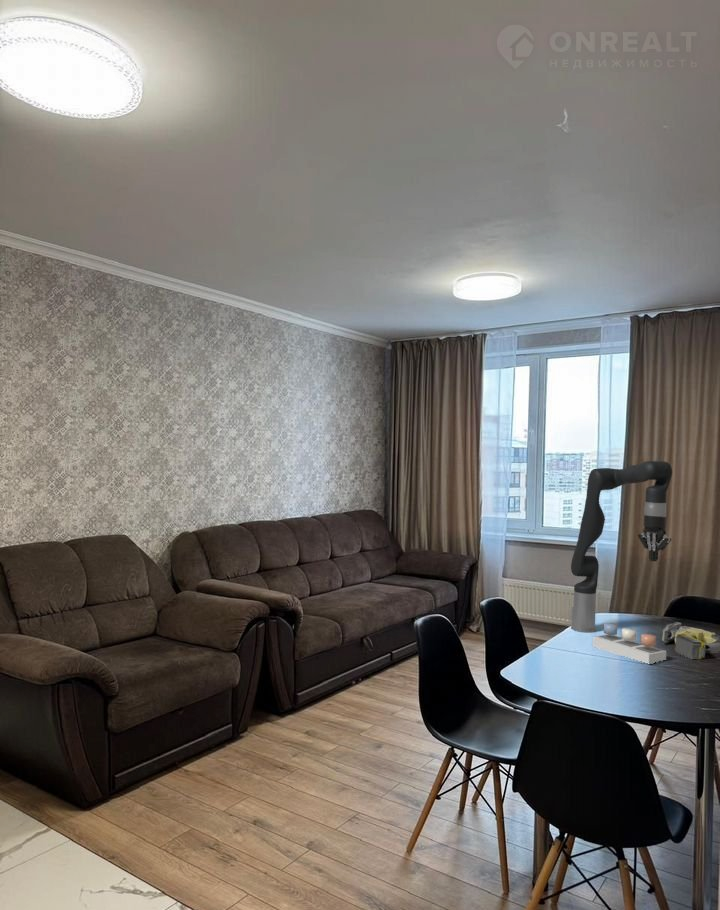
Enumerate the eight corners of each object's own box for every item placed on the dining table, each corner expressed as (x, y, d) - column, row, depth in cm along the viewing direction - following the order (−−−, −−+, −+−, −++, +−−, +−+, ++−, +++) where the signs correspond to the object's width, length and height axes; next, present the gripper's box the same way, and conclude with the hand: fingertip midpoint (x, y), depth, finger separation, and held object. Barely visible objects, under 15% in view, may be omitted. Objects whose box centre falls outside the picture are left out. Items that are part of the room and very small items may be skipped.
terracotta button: (638, 643, 242) (638, 634, 242) (646, 642, 244) (647, 633, 244) (650, 647, 237) (650, 637, 237) (658, 645, 240) (658, 636, 240)
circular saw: (665, 636, 276) (730, 652, 258) (639, 648, 254) (707, 666, 237) (667, 612, 276) (732, 626, 258) (641, 622, 254) (710, 638, 237)
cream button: (619, 637, 249) (619, 628, 249) (627, 636, 252) (627, 627, 252) (630, 641, 245) (630, 632, 245) (638, 639, 247) (639, 630, 247)
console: (593, 646, 256) (593, 636, 257) (609, 643, 261) (610, 633, 261) (648, 665, 235) (649, 653, 235) (666, 661, 240) (666, 650, 240)
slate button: (600, 632, 256) (601, 623, 256) (609, 631, 259) (609, 622, 259) (611, 635, 252) (611, 626, 252) (619, 634, 255) (620, 625, 255)
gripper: (633, 513, 244) (631, 558, 244) (664, 516, 233) (663, 564, 233) (645, 512, 248) (644, 557, 248) (677, 516, 236) (676, 563, 236)
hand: (653, 561), depth 240 cm, fingers closed
